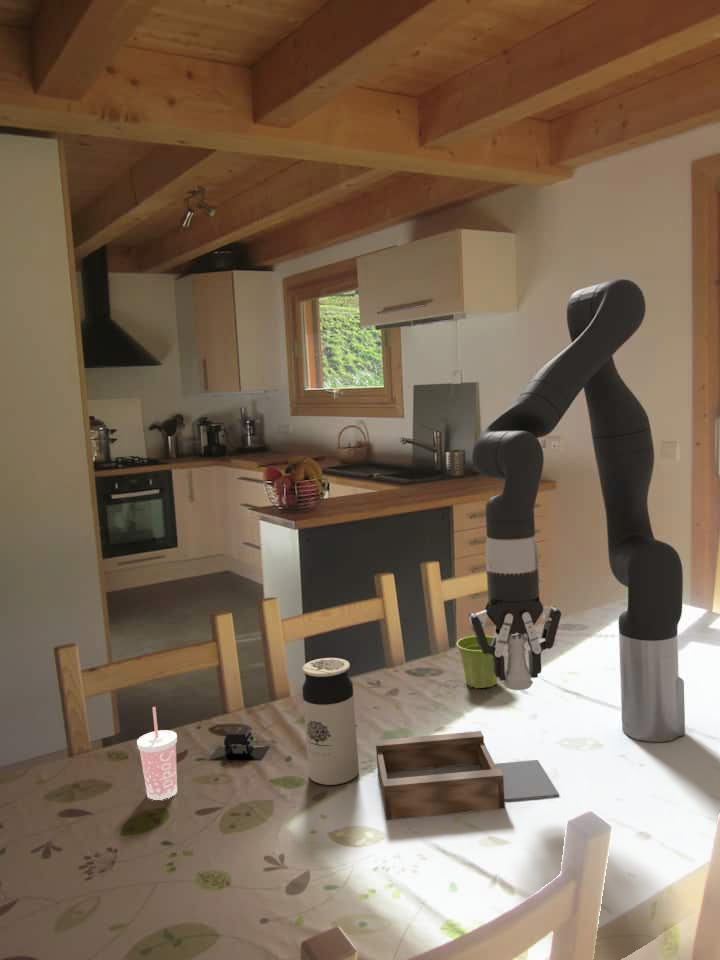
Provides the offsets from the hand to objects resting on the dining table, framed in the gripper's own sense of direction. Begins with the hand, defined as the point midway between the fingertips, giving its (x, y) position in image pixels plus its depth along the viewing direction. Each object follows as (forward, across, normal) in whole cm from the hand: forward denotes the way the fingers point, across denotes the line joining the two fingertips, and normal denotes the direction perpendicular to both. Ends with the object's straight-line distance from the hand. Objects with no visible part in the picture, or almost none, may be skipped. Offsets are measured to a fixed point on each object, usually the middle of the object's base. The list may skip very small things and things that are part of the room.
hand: (517, 676), depth 117 cm
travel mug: (+17, +28, -7) cm, 34 cm away
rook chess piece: (+1, 0, 0) cm, 1 cm away
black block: (+17, +45, -18) cm, 51 cm away
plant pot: (+16, -2, -40) cm, 44 cm away
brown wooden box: (+16, +13, 0) cm, 21 cm away
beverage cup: (+17, +56, -6) cm, 58 cm away
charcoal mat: (+16, 0, 0) cm, 16 cm away
